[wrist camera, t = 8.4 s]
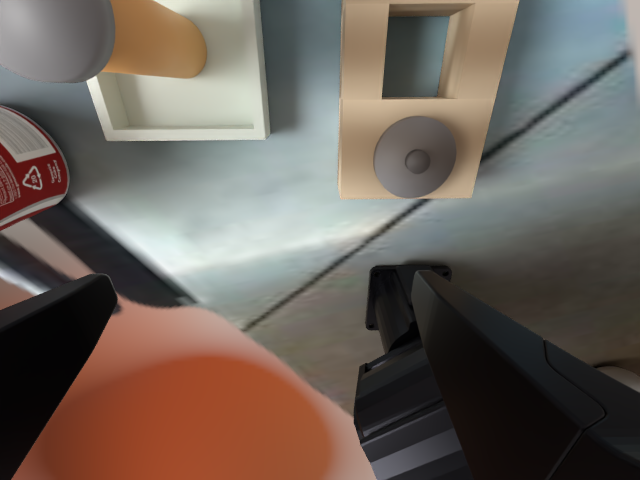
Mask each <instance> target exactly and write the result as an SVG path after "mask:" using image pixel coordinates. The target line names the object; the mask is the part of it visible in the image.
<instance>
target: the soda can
mask: <svg viewBox="0 0 640 480" xmlns="http://www.w3.org/2000/svg"><path fill="white" fill-rule="evenodd" d="M69 183H70V175H69V169H68V165H67V162H66V159H65V157H64V155H63V153H62V151H61V150H60V148H59V147H58V145H57V144H56V142H55V141H54V140H53V138H52V137H51V136H50V135H49V134H48V133H47V132H46V131H45V130H44V129H43V128H42V127H41V126H39V125H38V124H37V123H36V122H34V121H33V120H32V119H30V118H29V117H27V116H25V115H24V114H22V113H20V112H18V111H16V110H14V109H11V108H9V107H5V106H2V105H0V231H1V230H3V229H5V228H7V227H10V226H12V225H14V224H16V223H18V222H20V221H23V220H25V219H27V218H29V217H31V216H33V215H35V214H38V213H40V212H42V211H44V210H46V209H48V208H50V207H53V206H55V205H56V204H58V203H59V202H60V201H61V200H62V199H63V198H64V197H65V195H66V193H67V191H68V188H69Z"/></svg>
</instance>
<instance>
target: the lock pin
mask: <svg viewBox="0 0 640 480" xmlns="http://www.w3.org/2000/svg"><path fill="white" fill-rule="evenodd" d="M206 59H207V47H206V43H205V40H204V37H203V35H202V33H201V32H200V30H199V29H198V27H197V26H196V25H195V24H194V23H193V22H192V21H190V20H189V19H187V18H185V17H183V16H182V15H180V14H178V13H176V12H174V11H172V10H170V9H169V8H167V7H165V6H163V5H161V4H159V3H157V2H156V1H154V0H0V65H2V66H3V67H5V68H6V69H8V70H10V71H12V72H13V73H15V74H18V75H20V76H22V77H25V78H28V79H31V80H35V81H40V82H52V83H78V82H83V81H87V80H89V79H91V78H93V77H94V76H96V75H97V74H99V73H100V72H113V73H124V74H136V75H147V76H159V77H170V78H182V79H188V78H192V77H195V76H196V75H198V74H199V73H200V72H201V71H202V69H203V68H204V66H205V63H206Z"/></svg>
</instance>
